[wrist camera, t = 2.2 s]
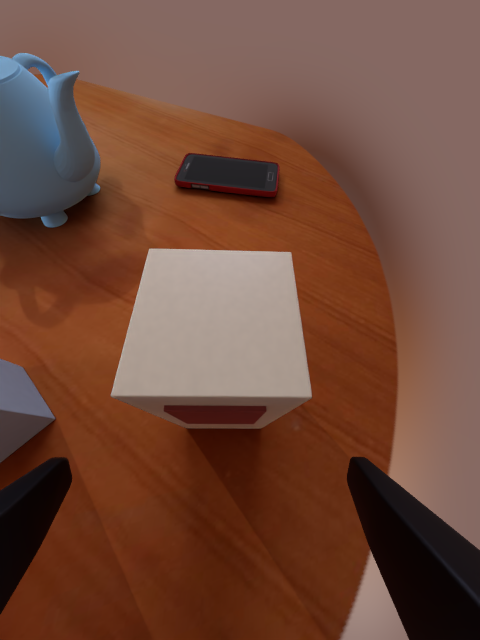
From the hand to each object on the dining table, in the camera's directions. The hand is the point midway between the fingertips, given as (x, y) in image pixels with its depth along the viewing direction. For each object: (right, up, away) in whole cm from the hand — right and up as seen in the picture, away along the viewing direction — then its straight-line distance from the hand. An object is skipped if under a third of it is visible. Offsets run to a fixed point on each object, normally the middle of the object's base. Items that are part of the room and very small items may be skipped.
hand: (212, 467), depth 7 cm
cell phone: (-1, +26, +27) cm, 38 cm away
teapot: (-24, +21, +24) cm, 40 cm away
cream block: (0, -1, +12) cm, 12 cm away
